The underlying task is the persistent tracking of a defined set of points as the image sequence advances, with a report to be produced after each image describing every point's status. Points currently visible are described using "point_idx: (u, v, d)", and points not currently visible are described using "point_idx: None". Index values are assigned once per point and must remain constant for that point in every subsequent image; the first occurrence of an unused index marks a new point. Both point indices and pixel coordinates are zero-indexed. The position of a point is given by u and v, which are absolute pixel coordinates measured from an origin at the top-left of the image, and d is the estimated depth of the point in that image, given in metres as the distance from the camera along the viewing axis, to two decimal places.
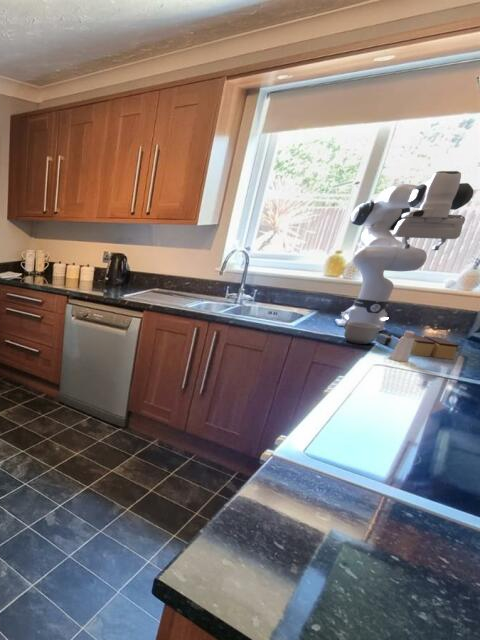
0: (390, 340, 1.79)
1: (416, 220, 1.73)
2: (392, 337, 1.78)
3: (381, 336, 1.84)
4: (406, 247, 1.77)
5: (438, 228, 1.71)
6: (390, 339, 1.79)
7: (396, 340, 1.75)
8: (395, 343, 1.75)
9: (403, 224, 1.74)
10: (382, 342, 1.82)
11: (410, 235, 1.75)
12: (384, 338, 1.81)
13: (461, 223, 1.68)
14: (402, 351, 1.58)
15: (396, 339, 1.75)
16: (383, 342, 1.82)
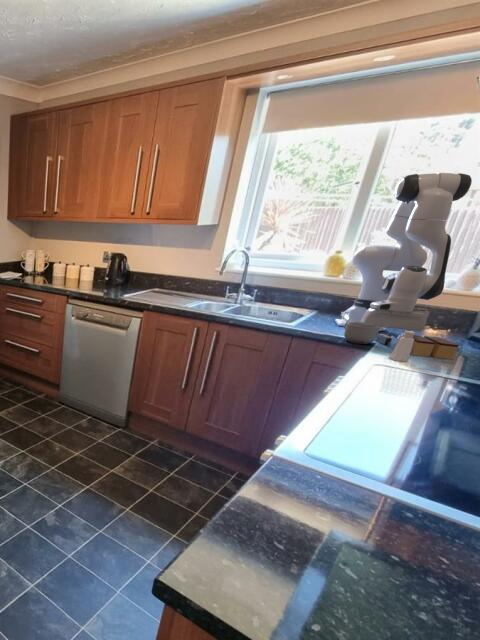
0: (390, 340, 1.79)
1: (383, 312, 1.78)
2: (392, 337, 1.78)
3: (381, 336, 1.84)
4: None
5: (404, 320, 1.77)
6: (390, 339, 1.79)
7: (396, 340, 1.75)
8: (395, 343, 1.75)
9: (370, 315, 1.80)
10: (382, 342, 1.82)
11: None
12: (384, 338, 1.81)
13: (425, 317, 1.74)
14: (402, 351, 1.58)
15: (396, 339, 1.75)
16: (383, 342, 1.82)
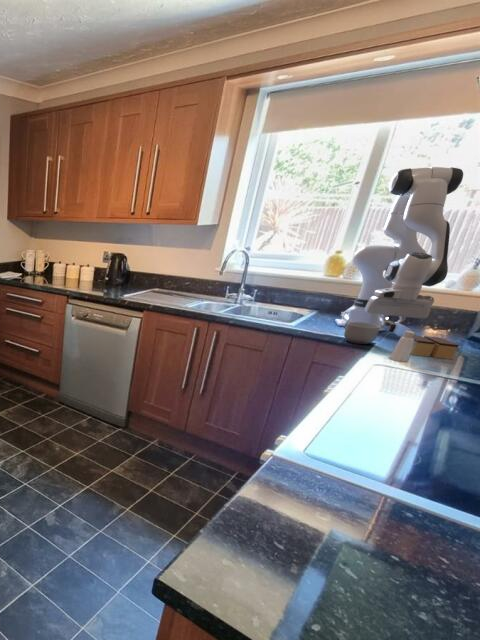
0: (395, 327, 1.77)
1: (386, 300, 1.77)
2: (397, 324, 1.76)
3: None
4: (384, 324, 1.81)
5: (408, 308, 1.76)
6: (395, 326, 1.77)
7: (401, 326, 1.73)
8: (400, 330, 1.73)
9: (374, 302, 1.79)
10: (387, 329, 1.81)
11: (380, 313, 1.80)
12: (389, 325, 1.80)
13: (430, 304, 1.73)
14: (402, 351, 1.58)
15: (401, 325, 1.73)
16: (388, 329, 1.80)
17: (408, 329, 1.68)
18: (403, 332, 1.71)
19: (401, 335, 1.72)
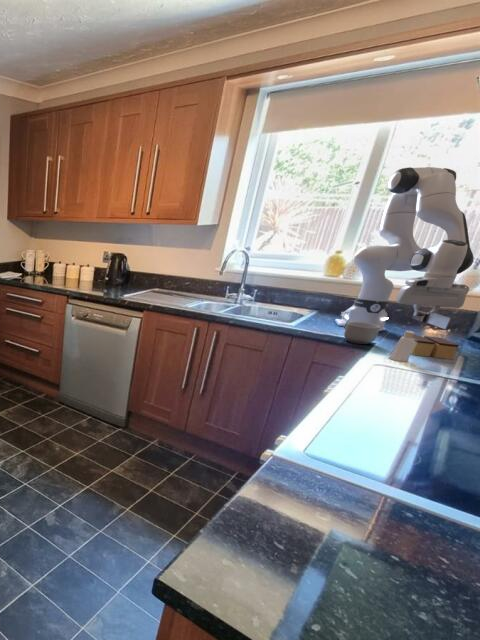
0: (429, 316, 1.71)
1: (419, 289, 1.72)
2: (431, 313, 1.70)
3: None
4: (417, 314, 1.76)
5: (442, 297, 1.71)
6: (429, 315, 1.71)
7: (436, 316, 1.67)
8: (435, 319, 1.67)
9: (406, 292, 1.74)
10: (420, 319, 1.75)
11: (413, 303, 1.74)
12: (422, 315, 1.74)
13: (465, 293, 1.68)
14: (402, 351, 1.58)
15: (436, 315, 1.67)
16: (421, 319, 1.74)
17: (444, 317, 1.62)
18: (438, 321, 1.65)
19: (436, 324, 1.66)
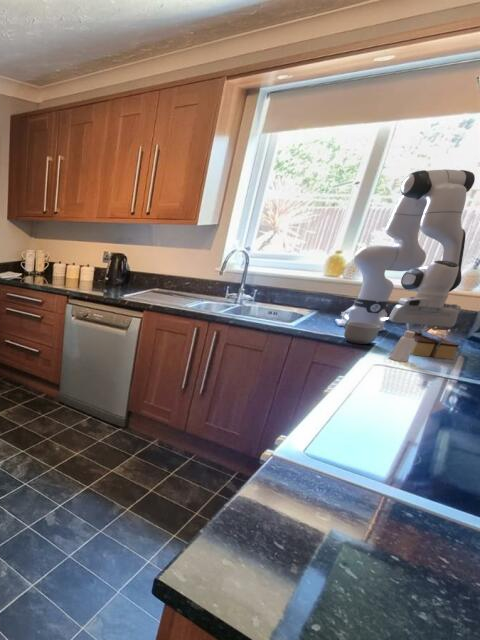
0: (421, 335, 1.74)
1: (412, 308, 1.75)
2: (423, 332, 1.73)
3: None
4: None
5: (434, 317, 1.73)
6: (421, 334, 1.74)
7: (428, 335, 1.70)
8: (427, 338, 1.70)
9: (399, 311, 1.77)
10: None
11: (405, 322, 1.77)
12: (415, 333, 1.77)
13: (456, 313, 1.70)
14: (402, 351, 1.58)
15: (428, 334, 1.70)
16: None
17: (436, 337, 1.65)
18: None
19: None
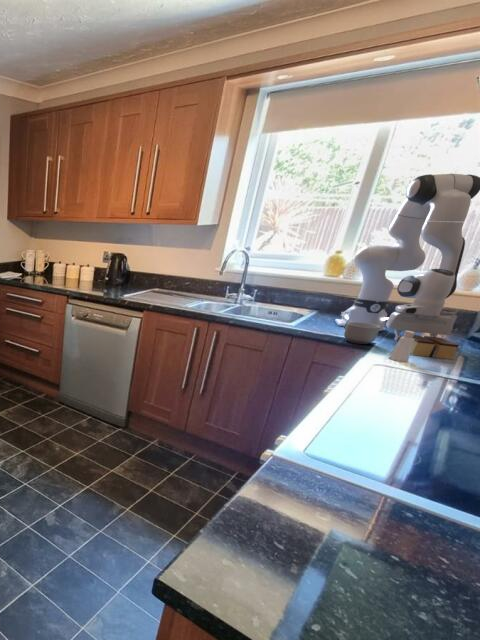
0: None
1: (408, 316, 1.76)
2: None
3: None
4: (397, 339, 1.81)
5: (430, 324, 1.75)
6: None
7: None
8: None
9: (396, 318, 1.78)
10: None
11: (402, 329, 1.79)
12: None
13: (452, 321, 1.72)
14: (402, 351, 1.58)
15: None
16: None
17: None
18: None
19: None
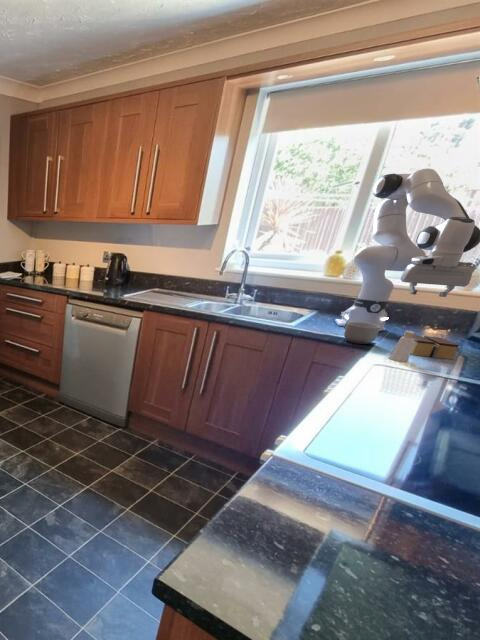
0: None
1: (425, 267, 1.70)
2: None
3: None
4: (413, 293, 1.75)
5: (447, 276, 1.68)
6: None
7: None
8: None
9: (411, 270, 1.72)
10: None
11: (418, 282, 1.72)
12: None
13: (471, 271, 1.65)
14: (402, 351, 1.58)
15: None
16: None
17: None
18: None
19: None
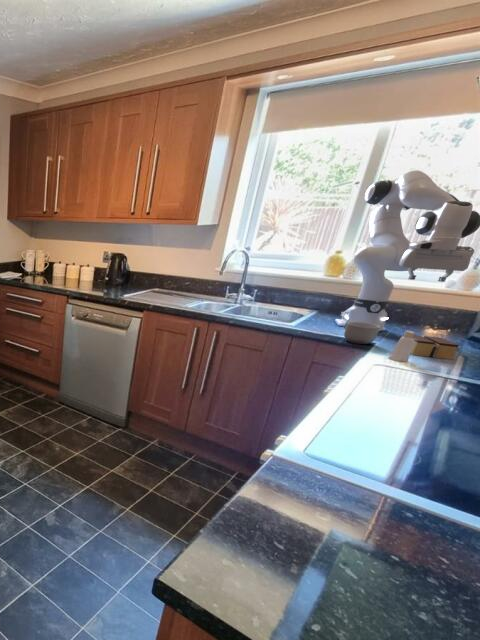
0: None
1: (423, 252, 1.69)
2: None
3: None
4: (412, 278, 1.74)
5: (446, 260, 1.68)
6: None
7: None
8: None
9: (410, 255, 1.71)
10: None
11: (416, 266, 1.72)
12: None
13: (469, 255, 1.65)
14: (402, 351, 1.58)
15: None
16: None
17: None
18: None
19: None
